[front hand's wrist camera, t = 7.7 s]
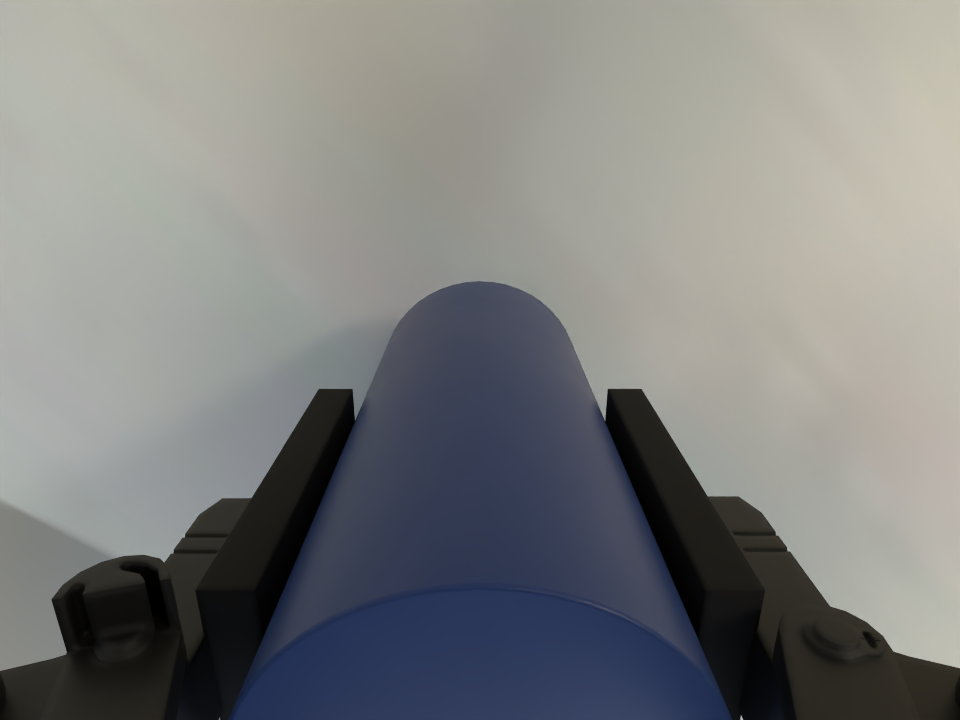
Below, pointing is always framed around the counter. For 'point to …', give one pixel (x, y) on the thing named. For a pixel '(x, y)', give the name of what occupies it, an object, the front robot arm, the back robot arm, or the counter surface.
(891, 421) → the counter surface
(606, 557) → the can
